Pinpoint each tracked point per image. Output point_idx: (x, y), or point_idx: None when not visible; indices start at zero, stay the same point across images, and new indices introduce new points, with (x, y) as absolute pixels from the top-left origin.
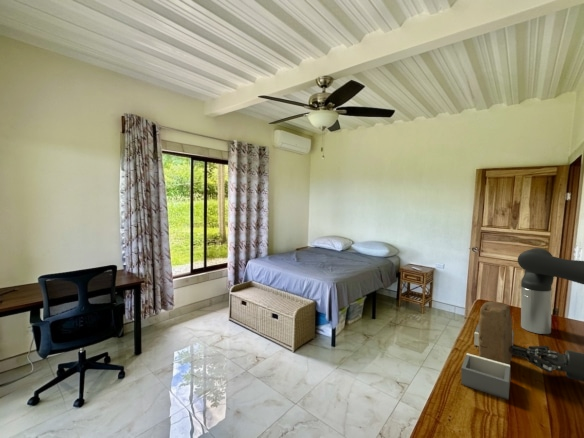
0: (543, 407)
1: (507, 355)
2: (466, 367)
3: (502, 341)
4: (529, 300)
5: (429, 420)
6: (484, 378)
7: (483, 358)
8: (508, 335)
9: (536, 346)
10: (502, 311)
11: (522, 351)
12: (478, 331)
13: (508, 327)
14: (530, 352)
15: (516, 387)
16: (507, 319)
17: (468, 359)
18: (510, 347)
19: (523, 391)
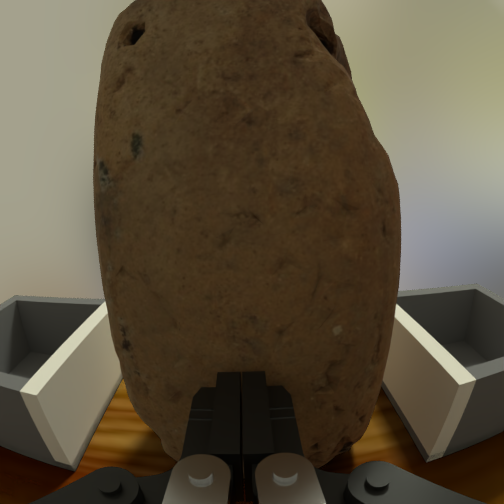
0: None
1: (179, 402)
2: (29, 308)
3: (100, 257)
4: None
5: None
6: None
7: (86, 328)
8: (207, 243)
9: (463, 502)
10: (124, 11)
11: (207, 440)
12: (406, 296)
13: (210, 153)
14: (180, 488)
15: (29, 480)
16: (184, 64)
17: (68, 303)
18: (266, 382)
19: (4, 494)
